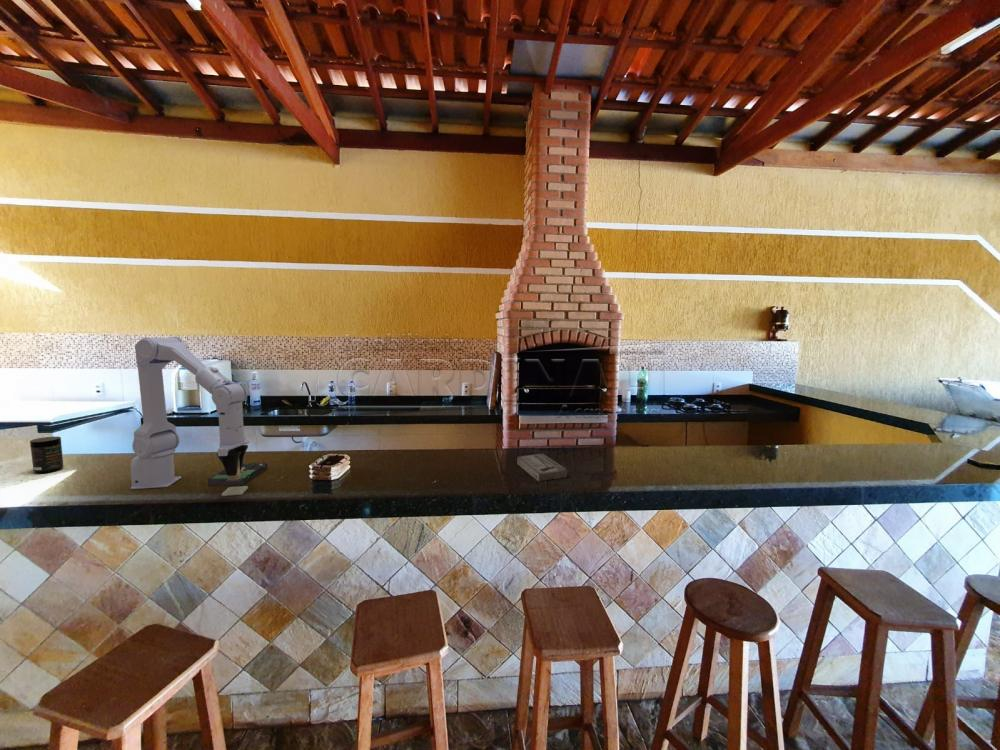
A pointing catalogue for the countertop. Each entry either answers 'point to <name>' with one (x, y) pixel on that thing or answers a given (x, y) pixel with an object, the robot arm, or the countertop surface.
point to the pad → (235, 490)
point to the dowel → (236, 474)
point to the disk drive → (246, 475)
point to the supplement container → (46, 455)
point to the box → (541, 467)
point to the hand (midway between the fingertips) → (234, 473)
